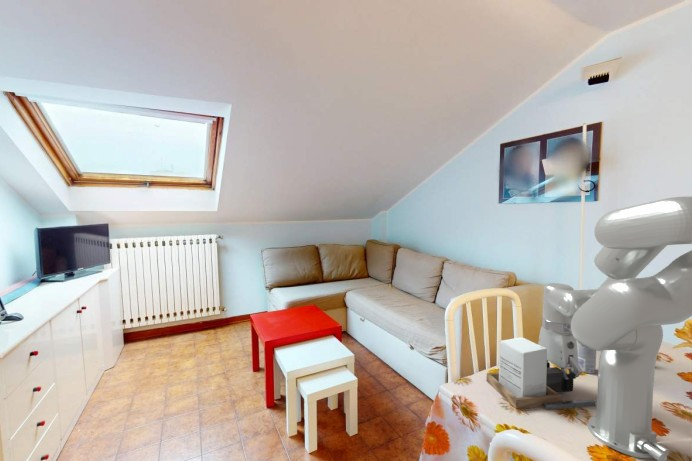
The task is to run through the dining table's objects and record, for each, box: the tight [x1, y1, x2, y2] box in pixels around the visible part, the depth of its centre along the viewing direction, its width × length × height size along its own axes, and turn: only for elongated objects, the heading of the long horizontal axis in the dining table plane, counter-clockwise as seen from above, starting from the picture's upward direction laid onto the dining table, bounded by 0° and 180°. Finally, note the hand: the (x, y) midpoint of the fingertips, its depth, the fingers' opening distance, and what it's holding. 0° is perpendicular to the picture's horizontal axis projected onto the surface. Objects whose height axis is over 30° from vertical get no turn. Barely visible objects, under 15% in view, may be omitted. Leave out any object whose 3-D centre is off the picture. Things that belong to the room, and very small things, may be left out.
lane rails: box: [542, 398, 597, 411], centre depth 90 cm, size 17×15×2 cm
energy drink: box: [576, 340, 597, 374], centre depth 102 cm, size 5×5×12 cm
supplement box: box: [498, 336, 547, 398], centre depth 89 cm, size 9×9×15 cm
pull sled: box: [486, 366, 564, 410], centre depth 90 cm, size 14×20×6 cm
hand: (555, 382), depth 91 cm, fingers open, 7 cm apart
